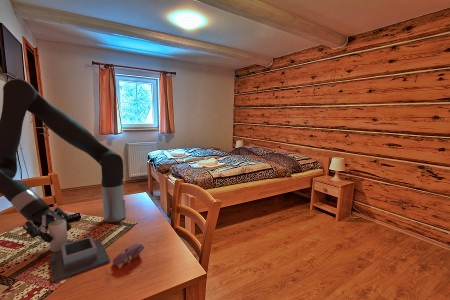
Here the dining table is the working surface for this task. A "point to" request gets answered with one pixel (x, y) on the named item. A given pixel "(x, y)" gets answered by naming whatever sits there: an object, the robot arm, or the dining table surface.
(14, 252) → the dining table surface
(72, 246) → the roll holder
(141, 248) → the video game controller
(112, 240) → the dining table surface
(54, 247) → the paper roll
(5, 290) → the dining table surface
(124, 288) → the dining table surface
